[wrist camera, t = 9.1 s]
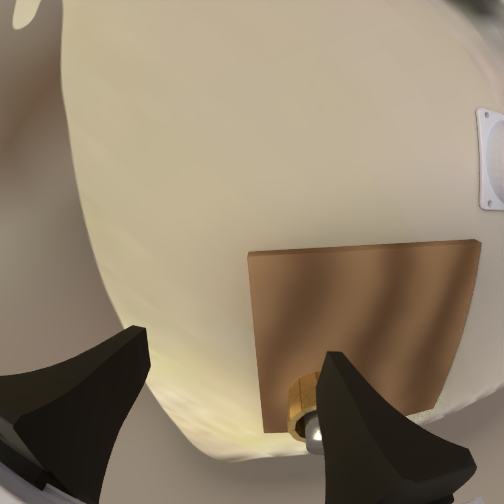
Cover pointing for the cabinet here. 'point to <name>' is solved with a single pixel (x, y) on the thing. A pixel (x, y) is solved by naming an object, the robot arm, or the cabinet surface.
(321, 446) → the steel piston
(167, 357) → the cabinet surface
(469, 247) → the walnut board
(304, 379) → the wooden barrel ring
